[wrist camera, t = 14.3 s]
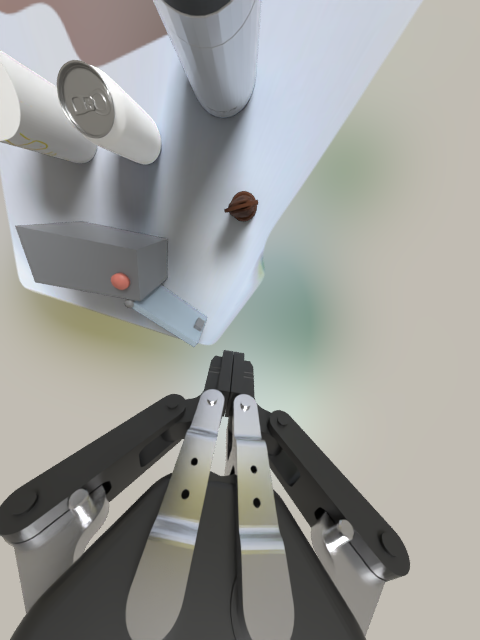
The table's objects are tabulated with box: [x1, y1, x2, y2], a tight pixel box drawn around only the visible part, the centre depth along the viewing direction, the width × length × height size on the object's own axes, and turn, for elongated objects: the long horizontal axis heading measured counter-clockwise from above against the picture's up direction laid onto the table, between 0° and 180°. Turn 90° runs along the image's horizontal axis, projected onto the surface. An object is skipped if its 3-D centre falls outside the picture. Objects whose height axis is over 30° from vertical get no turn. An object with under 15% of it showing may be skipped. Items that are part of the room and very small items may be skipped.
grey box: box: [15, 221, 167, 301], centre depth 33 cm, size 8×18×13 cm, turn 79°
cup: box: [0, 50, 97, 163], centre depth 25 cm, size 8×8×12 cm
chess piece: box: [224, 191, 258, 222], centre depth 30 cm, size 5×5×10 cm
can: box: [57, 60, 161, 165], centre depth 25 cm, size 6×6×12 cm
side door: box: [124, 284, 207, 347], centre depth 38 cm, size 2×14×11 cm, turn 50°
